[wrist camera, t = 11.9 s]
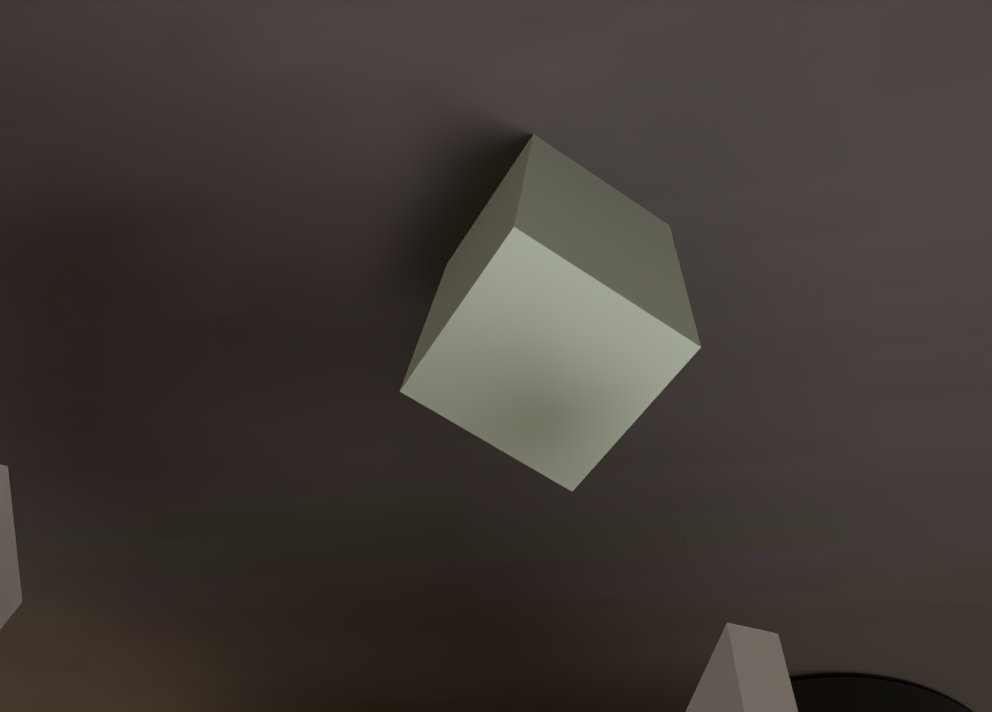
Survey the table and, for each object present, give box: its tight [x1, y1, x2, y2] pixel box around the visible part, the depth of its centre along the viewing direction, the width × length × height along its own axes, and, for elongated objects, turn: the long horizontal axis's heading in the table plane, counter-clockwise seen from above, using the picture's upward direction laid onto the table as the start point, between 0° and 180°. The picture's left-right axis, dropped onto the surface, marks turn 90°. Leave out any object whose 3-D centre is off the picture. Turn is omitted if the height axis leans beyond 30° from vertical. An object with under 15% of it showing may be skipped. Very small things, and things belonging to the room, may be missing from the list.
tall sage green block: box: [400, 134, 701, 491], centre depth 23 cm, size 5×5×8 cm
